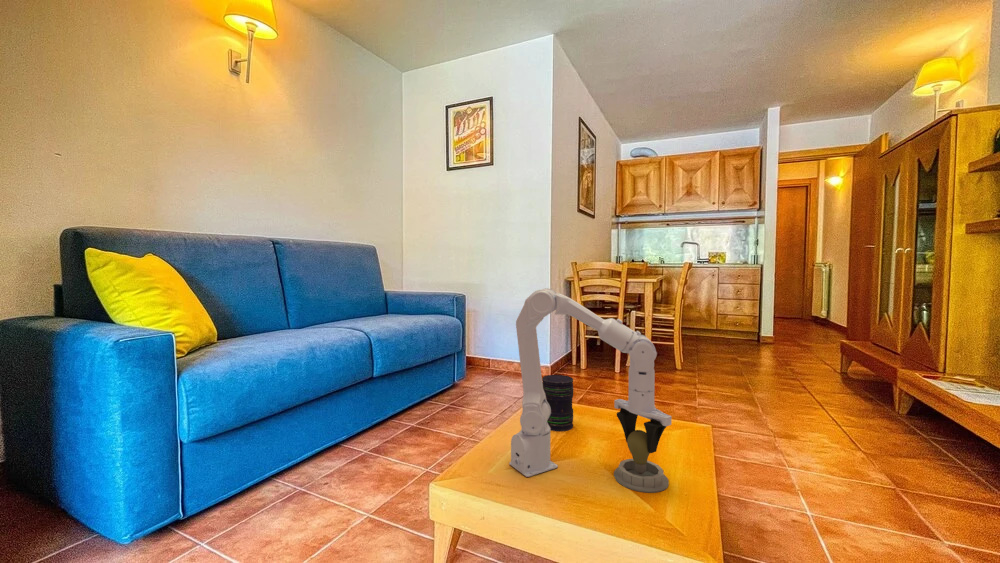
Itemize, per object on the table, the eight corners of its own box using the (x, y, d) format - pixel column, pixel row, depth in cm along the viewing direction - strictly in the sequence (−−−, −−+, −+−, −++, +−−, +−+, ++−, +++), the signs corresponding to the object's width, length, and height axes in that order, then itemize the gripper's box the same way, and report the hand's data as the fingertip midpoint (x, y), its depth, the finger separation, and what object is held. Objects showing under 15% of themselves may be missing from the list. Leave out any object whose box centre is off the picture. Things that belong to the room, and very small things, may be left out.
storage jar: (569, 419, 132) (569, 374, 131) (576, 431, 122) (576, 382, 122) (539, 420, 131) (539, 374, 131) (544, 431, 121) (544, 382, 121)
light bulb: (636, 481, 90) (635, 436, 90) (623, 469, 95) (622, 427, 95) (658, 477, 91) (657, 434, 91) (644, 466, 96) (643, 425, 96)
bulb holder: (645, 498, 85) (645, 486, 85) (603, 474, 95) (603, 464, 95) (679, 483, 91) (679, 472, 91) (636, 462, 102) (637, 452, 102)
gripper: (680, 393, 89) (679, 454, 89) (628, 379, 101) (627, 432, 101) (659, 399, 85) (659, 462, 85) (608, 383, 98) (608, 438, 98)
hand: (641, 446), depth 93 cm, fingers closed on light bulb, 6 cm apart
